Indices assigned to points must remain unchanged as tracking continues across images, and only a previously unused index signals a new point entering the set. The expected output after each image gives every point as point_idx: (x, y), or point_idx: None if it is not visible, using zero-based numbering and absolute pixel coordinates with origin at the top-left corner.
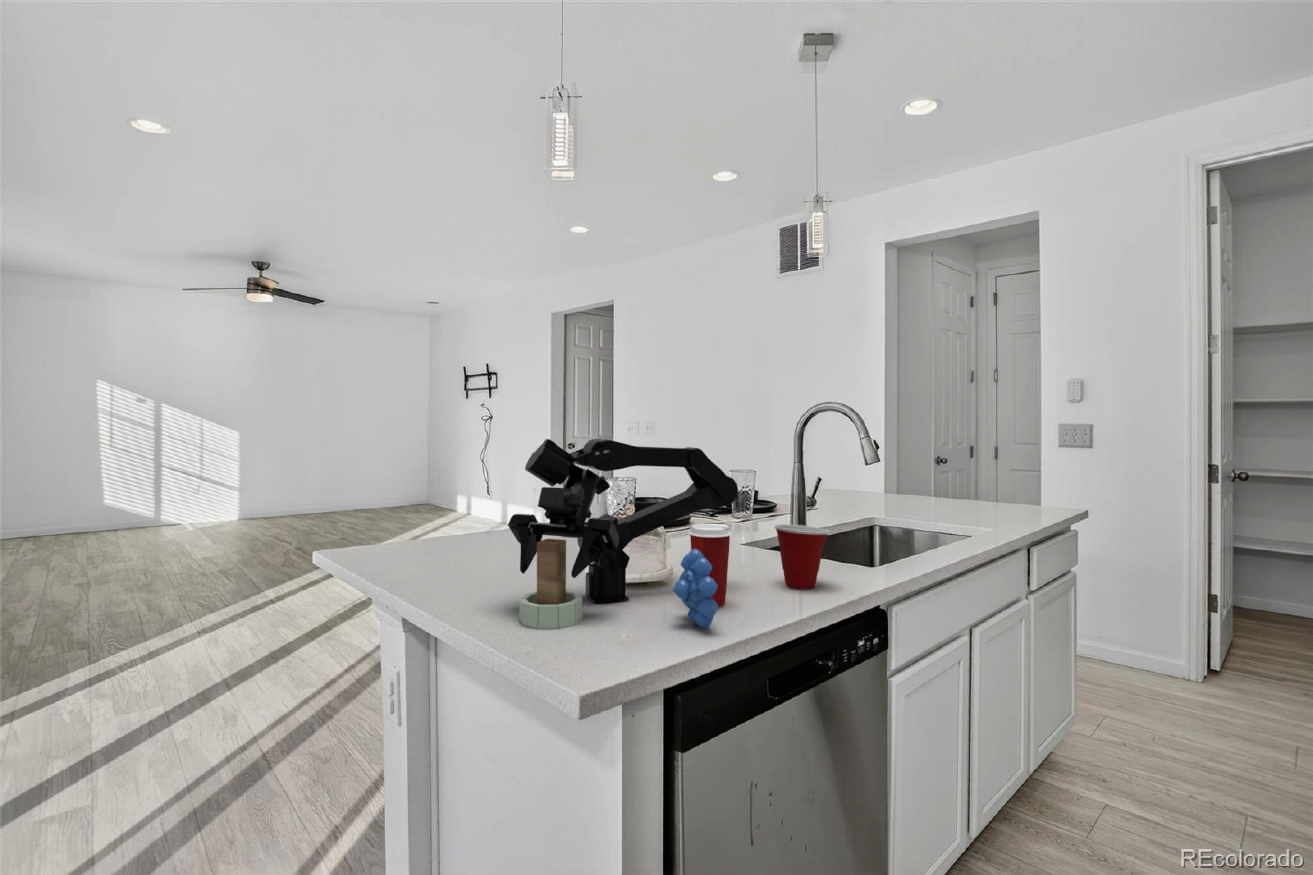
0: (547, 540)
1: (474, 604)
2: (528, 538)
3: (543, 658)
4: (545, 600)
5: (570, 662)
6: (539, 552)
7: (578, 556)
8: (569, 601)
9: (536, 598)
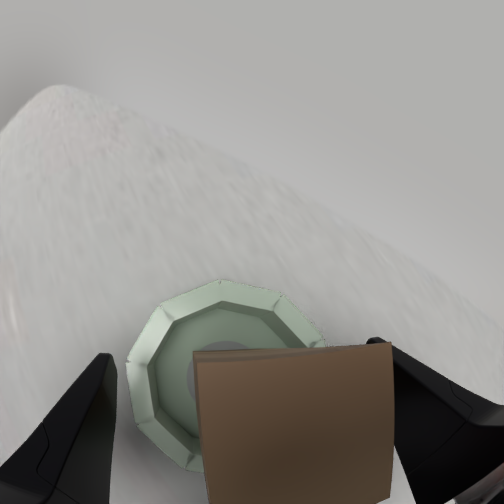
0: (358, 454)
1: None
2: (480, 428)
3: (122, 142)
4: (233, 350)
5: (73, 144)
6: (331, 348)
7: (71, 421)
8: None
9: None
